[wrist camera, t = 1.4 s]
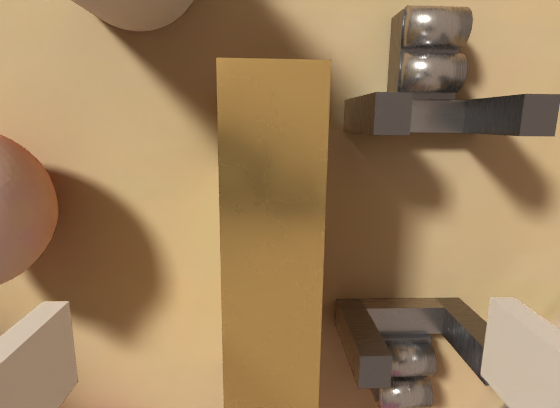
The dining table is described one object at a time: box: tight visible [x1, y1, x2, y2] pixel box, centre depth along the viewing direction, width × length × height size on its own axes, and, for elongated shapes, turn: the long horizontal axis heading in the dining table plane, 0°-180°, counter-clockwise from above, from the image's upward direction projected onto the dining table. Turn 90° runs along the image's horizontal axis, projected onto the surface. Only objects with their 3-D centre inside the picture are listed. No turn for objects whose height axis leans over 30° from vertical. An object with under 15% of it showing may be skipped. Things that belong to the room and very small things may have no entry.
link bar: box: [216, 58, 331, 408], centre depth 22 cm, size 4×18×10 cm, turn 179°
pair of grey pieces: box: [335, 6, 560, 408], centre depth 24 cm, size 9×26×7 cm, turn 0°
